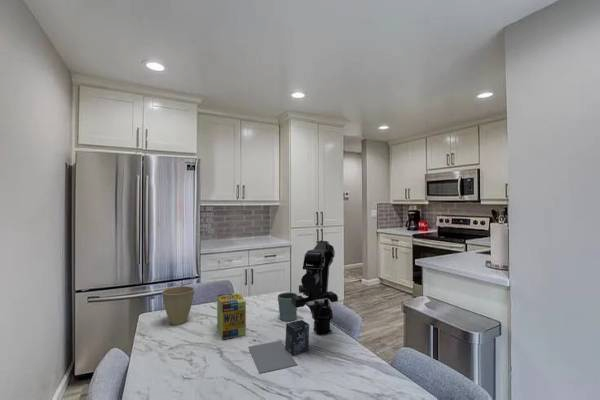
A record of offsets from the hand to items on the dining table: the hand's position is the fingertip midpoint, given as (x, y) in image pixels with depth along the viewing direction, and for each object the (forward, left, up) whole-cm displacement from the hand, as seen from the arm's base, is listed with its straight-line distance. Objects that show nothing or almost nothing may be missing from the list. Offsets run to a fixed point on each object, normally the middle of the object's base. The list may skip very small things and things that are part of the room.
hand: (315, 320), depth 118 cm
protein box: (+30, -28, -11) cm, 43 cm away
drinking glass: (+1, -32, -11) cm, 34 cm away
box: (+8, 0, -11) cm, 14 cm away
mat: (+19, 0, -11) cm, 22 cm away
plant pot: (+53, -49, -11) cm, 73 cm away
